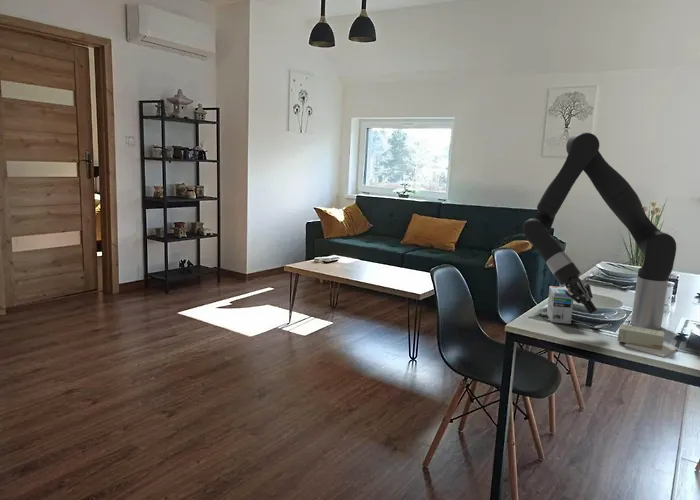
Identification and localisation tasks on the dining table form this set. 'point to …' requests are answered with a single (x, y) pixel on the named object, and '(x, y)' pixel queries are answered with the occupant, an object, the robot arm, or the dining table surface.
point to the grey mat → (654, 349)
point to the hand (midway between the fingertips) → (593, 312)
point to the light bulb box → (559, 305)
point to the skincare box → (641, 336)
